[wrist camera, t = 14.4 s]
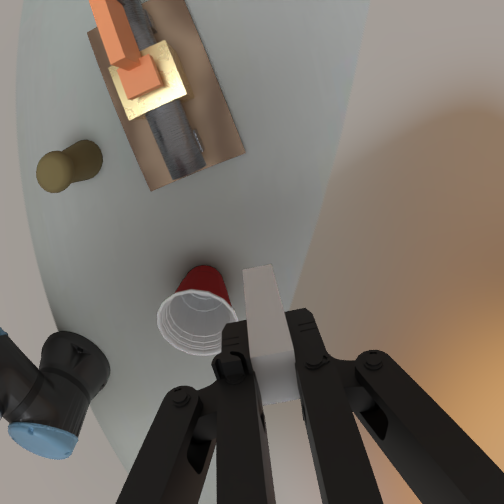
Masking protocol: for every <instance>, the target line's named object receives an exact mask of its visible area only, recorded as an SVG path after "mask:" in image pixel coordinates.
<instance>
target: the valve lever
mask: <svg viewBox="0 0 504 504" xmlns="http://www.w3.org/2000/svg"><path fill="white" fill-rule="evenodd" d="M89 2H90V5H91V9H92V12H93V15H94V18H95V21H96V24H97V27H98V30H99V33H100V36H101V38H102V41H103V44H104V47H105V50H106V53H107V56H108V58H109V61H110V64H111V65H113V66H116V67H119V68H118V69H116V70H117V72H118V75H119V78H120V80H121V83H122V86H123V88H124V91H125V94H126V96H127V99H128V100H134V99H136V98H138V97H140V96H142V95H144V94H146V93H148V92H150V91H153V90H155V89H157V88H159V87H162V86H164V85H163V83H162V80H161V78H160V75H159V72H158V70H157V67H156V65H155V62H154V59H153V57H152V56H151V55H150V54H147V55H145V56H143V57H141V54H140V51H139V49H138V46H137V43H136V41H135V38H134V35H133V32H132V30H131V27H130V24H129V22H128V19H127V16H126V13H125V11H124V8H123V6H124V5H126V4H125V1H124V0H89Z"/></svg>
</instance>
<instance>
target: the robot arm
mask: <svg viewBox="0 0 504 504" xmlns="http://www.w3.org/2000/svg"><path fill="white" fill-rule="evenodd" d="M242 270H243V282H244V294H245V305H246V317H247V320H243V321H238V322H232V323H226V325H225V327H224V328H223V330H222V341H221V346H222V347H221V353H219V354H217V355H216V356H215V357H214V359H213V361H212V364H211V365H212V368H213V370H214V373H215V376H216V379H217V380H216V381H215V382H214V383H213V384H211V385H210V386H208V387H205V388H203V389H200V390H195V389H194V388H193V387H190V386H179V387H176V388H173V389H172V390H171V391H169V392H168V393H167V394H166V396H165V397H164V399H163V401H162V403H161V406H160V408H159V410H158V412H157V414H156V416H155V418H154V421H153V423H152V425H151V427H150V429H149V431H148V434H147V436H146V438H145V440H144V442H143V444H142V447H141V449H140V451H139V453H138V455H137V458H136V460H135V462H134V464H133V466H132V469H131V471H130V473H129V475H128V478H127V480H126V482H125V484H124V486H123V488H122V491H121V493H120V495H119V497H118V500H117V502H116V504H198V501H199V498H200V495H201V492H202V488H203V485H204V482H205V479H206V475H207V472H208V469H209V465H210V462H211V459H212V455H213V452H214V449H215V445H216V467H217V504H276V501H275V493H274V486H273V478H272V470H271V462H270V455H269V446H268V439H267V430H266V422H265V415H264V412H263V407H262V405H263V406H264V405H269V404H275V403H280V402H286V401H291V400H296V399H301V406H302V414H303V420H304V421H305V425H306V429H307V434H308V439H309V443H310V448H311V452H312V457H313V462H314V466H315V470H316V475H317V480H318V485H319V489H320V494H321V499H322V503H323V504H383V501H382V498H381V495H380V492H379V489H378V486H377V483H376V479H375V476H374V473H373V471H372V468H371V465H370V461H369V459H368V456H367V453H366V450H365V447H364V444H363V441H362V438H361V435H360V432H359V430H358V427H357V424H356V421H355V419H354V415H353V413H352V412H354V413H355V415H356V416H357V417H358V419H359V420H360V422H361V423H362V424H363V426H364V427H365V428H366V430H367V431H368V432H369V434H370V435H371V436H372V438H373V439H374V440H375V442H376V443H377V444H378V446H379V447H380V448H381V450H382V451H383V452H384V454H385V455H386V456H387V458H388V459H389V460H390V462H391V463H392V464H393V466H394V467H395V468H396V470H397V471H398V472H399V473H400V475H401V476H402V478H403V479H404V480H405V482H406V483H407V484H408V485H409V487H410V488H411V489H412V491H413V492H414V493H415V495H416V496H417V497H418V499H419V500H420V501H421V503H422V504H504V473H503V472H502V471H501V469H500V468H499V467H498V466H497V465H496V464H495V463H494V462H493V461H492V460H491V459H490V458H489V457H488V456H487V455H486V454H485V453H484V451H483V450H482V449H481V448H480V447H479V446H478V445H477V444H476V443H475V442H474V441H473V440H472V439H471V438H470V437H469V436H468V435H467V434H466V433H465V432H464V431H463V430H462V429H461V428H460V427H459V426H458V425H457V423H456V422H455V421H454V420H453V419H452V418H451V417H449V415H448V414H447V413H446V412H445V411H444V410H443V409H442V408H441V407H440V406H439V405H438V404H437V403H436V402H435V401H434V400H433V399H432V398H431V397H430V396H429V395H428V394H427V393H426V392H425V391H424V390H423V389H422V388H421V387H420V386H419V385H418V384H417V383H416V382H415V381H414V380H413V379H412V378H411V377H410V376H409V375H408V374H407V373H406V372H405V371H404V370H403V369H402V368H401V367H400V366H399V365H398V364H397V363H396V362H395V361H394V360H393V359H392V358H391V357H390V356H389V355H388V354H386V353H385V352H383V351H379V350H369V351H365V352H363V353H361V354H360V355H359V356H358V357H357V359H356V360H355V361H346V360H339V359H335V358H333V357H332V356H330V355H329V354H328V352H327V351H326V349H325V346H324V343H323V340H322V338H321V335H320V333H319V330H318V328H317V325H316V323H315V319H314V317H313V314H312V313H311V312H310V311H308V310H307V309H306V308H302V309H297V310H292V311H287V312H284V309H283V306H282V302H281V298H280V294H279V290H278V286H277V283H276V279H275V275H274V271H273V268H272V264H269V265H264V266H258V267H253V268H248V269H242ZM109 374H110V367H109V363H108V361H107V359H106V357H105V356H104V354H103V353H102V352H101V350H100V349H99V348H98V347H97V346H95V345H94V344H93V343H92V342H90V341H89V340H87V339H86V338H84V337H82V336H80V335H77V334H74V333H71V332H56V333H53V334H52V335H50V336H49V337H48V339H47V340H46V342H45V343H44V345H43V348H42V353H41V361H40V366H39V369H38V368H37V367H36V366H35V365H34V364H33V363H32V362H31V361H30V360H29V359H28V358H27V357H26V356H25V354H24V353H23V352H22V351H21V350H20V349H19V348H18V347H17V346H16V345H15V343H14V342H13V341H12V340H11V339H10V338H9V337H8V334H7V333H6V332H4V331H3V330H2V328H1V327H0V420H1V418H2V417H4V418H5V419H6V420H7V421H8V422H9V423H10V424H9V426H8V433H9V435H10V436H11V437H12V439H13V440H14V441H15V442H16V443H17V444H19V445H20V446H22V447H23V448H25V449H26V450H28V451H30V452H32V453H34V454H37V455H39V456H42V457H46V458H50V459H57V460H60V459H65V458H68V457H69V456H70V455H71V454H72V452H73V449H74V447H75V445H76V443H77V442H78V436H79V433H80V430H81V427H82V424H83V421H84V418H85V415H86V412H87V409H88V407H89V404H90V401H91V400H92V399H93V398H94V397H95V396H96V395H97V394H98V392H99V391H100V390H101V389H103V387H104V386H105V385H106V383H107V380H108V377H109Z"/></svg>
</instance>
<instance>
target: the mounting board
mask: <svg viewBox="0 0 504 504" xmlns="http://www.w3.org/2000/svg"><path fill="white" fill-rule="evenodd" d="M142 7H143V9H146V10H147V11H148V13H149V14H150V15H151V17H152V19H153V22H154V24H155V27H156V29H157V32H158V33H155V34H154V37H155V39H156V42H157V43H159V42H161V41H163V40H166V41H167V42H168V43H169V45H170V46H171V47H172V48H173V49H174V50H175V51H176V52H177V55H178V57H179V60H180V62H181V64H182V67H183V69H184V72H185V74H186V77H187V79H188V82H189V84H190V87H191V89H192V92H193V94H194V97H195V98H193V99H191V100H188V101H186V102H183V103H181V104H182V106H183V109H184V111H185V114H186V116H187V118H188V121H189V123H190V126H191V128H192V130H194V129H197V130H198V133H199V135H200V138H201V140H202V143H203V145H204V148H205V150H204V151H203V152H201V153H202V155H203V158H204V160H205V162H206V166H205V167H203V168H202V169H200V170H203V169H205V168H208V167H210V166H213V165H216V164H218V163H221V162H223V161H226V160H228V159H231V158H234V157H236V156H239V155H242V154H244V153H246V152H245V150H244V147H243V145H242V142H241V139H240V137H239V134H238V132H237V129H236V127H235V124H234V121H233V119H232V116H231V114H230V111H229V109H228V106H227V104H226V101H225V99H224V96H223V94H222V91H221V89H220V86H219V84H218V81H217V79H216V76H215V74H214V71H213V69H212V66H211V64H210V61H209V59H208V57H207V54H206V52H205V49H204V47H203V44H202V42H201V40H200V37H199V35H198V32H197V30H196V28H195V25H194V23H193V21H192V18H191V16H190V13H189V11H188V9H187V6H186V4H185V2H184V0H149V1H147V2H145V3H143V4H142ZM87 34H88V37H89V40H90V43H91V46H92V49H93V51H94V54H95V57H96V60H97V62H98V65H99V68H100V70H101V73H102V76H103V78H104V81H105V84H106V86H107V89H108V91H109V94H110V97H111V99H112V102H113V104H114V107H115V109H116V112H117V114H118V117H119V119H120V121H121V124H122V126H123V129H124V131H125V133H126V136H127V138H128V141H129V143H130V145H131V148H132V150H133V152H134V155H135V157H136V159H137V162H138V164H139V166H140V168H141V171H142V173H143V175H144V177H145V180H146V182H147V184H148V186H149V188H150V191H153V190H156V189H158V188H160V187H162V186H165V185H167V184H169V183H172V182H174V181H176V180H179V179H181V178H179V179H176V180H172V178H171V175H170V173H169V171H168V169H167V166H166V164H165V162H164V159H163V157H162V155H161V152H160V150H159V148H158V145H157V143H156V140H155V138H154V136H153V133H152V131H151V129H150V126H149V124H148V121H147V119H142V120H131V121H129V120H128V117H127V115H126V112H125V110H124V107H123V105H122V102H121V100H120V97H119V95H118V92H117V90H116V87H115V85H114V82H113V79H112V77H111V74H110V72H109V69H108V68H109V67H110V66H112V65H111V64H110V61H109V58H108V56H107V53H106V50H105V47H104V44H103V41H102V38H101V36H100V33H99V30H98V27H96V28H94V29H93V30H91V31H89V32H87ZM200 170H198V171H200ZM198 171H196V172H198ZM196 172H194V173H196ZM191 174H193V173H191ZM191 174H189V175H191ZM187 176H188V175H187ZM184 177H186V176H184ZM182 178H183V177H182Z"/></svg>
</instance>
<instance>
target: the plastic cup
mask: <svg viewBox="0 0 504 504" xmlns="http://www.w3.org/2000/svg"><path fill="white" fill-rule="evenodd" d="M232 322H238V318H237V315H236V312H235V310H234V309H233V308H232V306H231V303H230V300H229V296H228V293H227V289H226V287H225V284H224V281H223V279H222V276H221V274H220V273H219V272H218V271H217V270H216V269H215V268H213V267H211V266H206V265H201V266H197V267H195V268H193V269H192V270H191V271H189V272H188V274H187V276H186V277H185V278H184V279H183V281H182V282H181V284H180V285H179V287H178V288H177V290H176V292H175V293H174V294H173V295H171V296H170V297H168V298H167V299H166V300H164V301H163V302H162V304H161V306H160V308H159V310H158V312H157V326H158V328H159V330H160V332H161V334H162V336H163V337H164V339H165V340H167V341H168V342H169V343H170V344H171V345H172V346H173V347H175V348H176V349H179V350H181V351H183V352H185V353H188V354H192V355H200V356H208V355H214V354H219V353H221V347H222V346H221V341H222V330H223V328H224V327H225V325H226V323H232Z"/></svg>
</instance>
